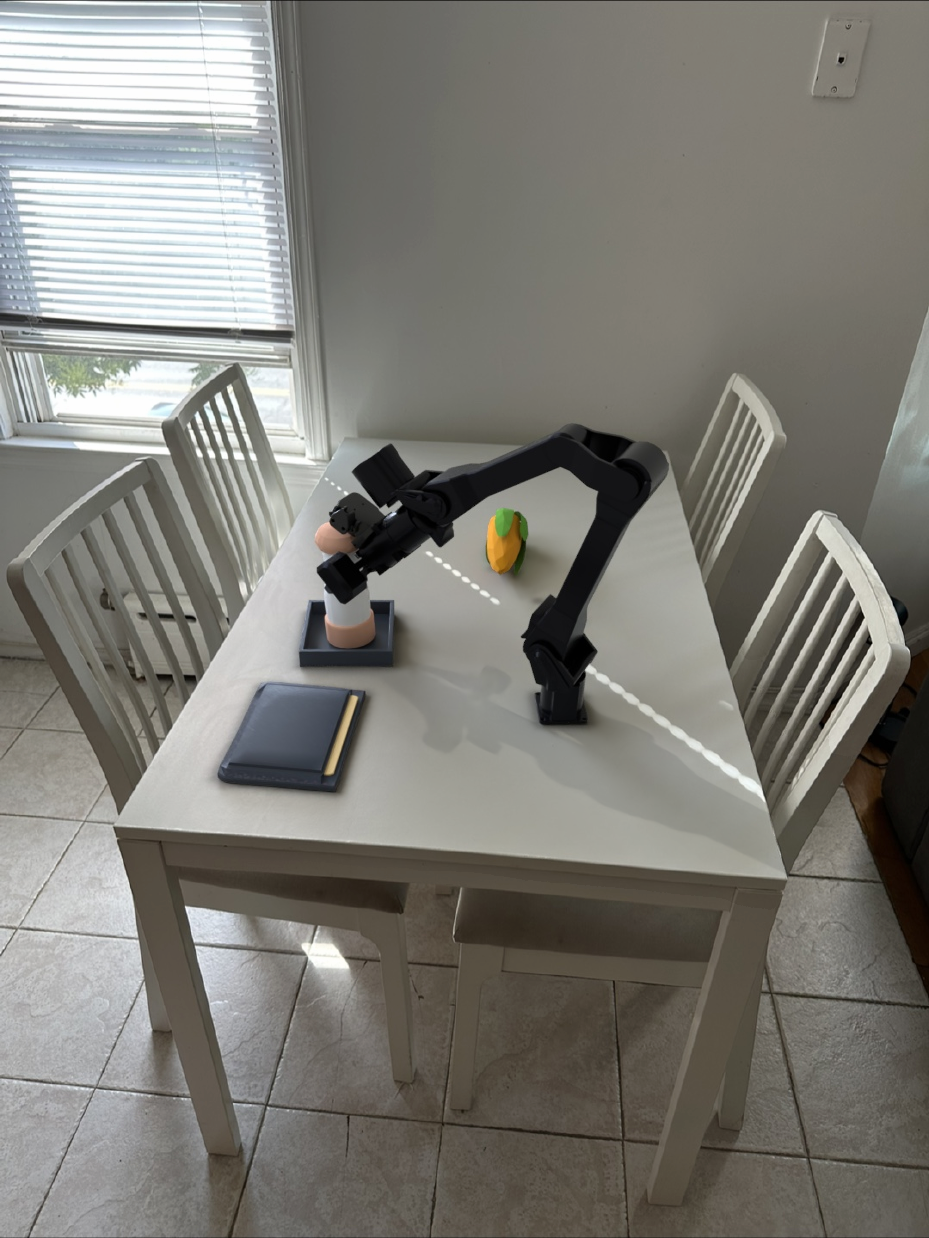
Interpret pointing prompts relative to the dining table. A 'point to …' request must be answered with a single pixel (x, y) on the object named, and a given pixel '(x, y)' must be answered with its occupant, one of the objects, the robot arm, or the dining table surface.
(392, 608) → the tray
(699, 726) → the dining table surface
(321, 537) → the pepper shaker
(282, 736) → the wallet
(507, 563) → the corn
